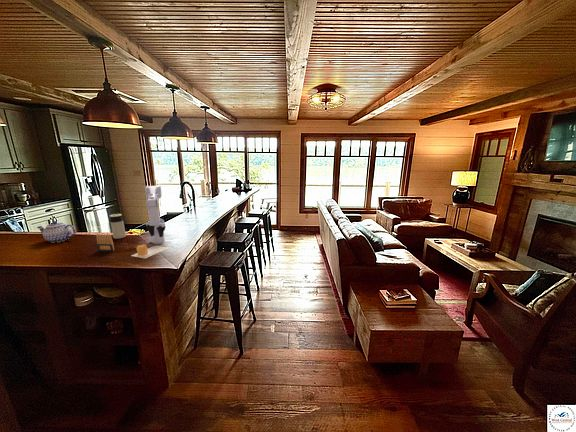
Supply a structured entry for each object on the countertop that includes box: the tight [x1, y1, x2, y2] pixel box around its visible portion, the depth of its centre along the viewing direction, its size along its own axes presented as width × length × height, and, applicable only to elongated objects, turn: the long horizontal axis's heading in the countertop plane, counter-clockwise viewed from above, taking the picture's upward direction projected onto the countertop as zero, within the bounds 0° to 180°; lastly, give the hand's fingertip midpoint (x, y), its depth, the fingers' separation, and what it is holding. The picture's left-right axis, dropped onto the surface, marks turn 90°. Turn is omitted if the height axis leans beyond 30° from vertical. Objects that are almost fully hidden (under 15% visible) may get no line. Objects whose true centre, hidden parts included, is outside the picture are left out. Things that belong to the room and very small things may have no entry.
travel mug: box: [109, 213, 127, 240], centre depth 176 cm, size 8×8×18 cm
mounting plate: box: [131, 245, 168, 259], centre depth 148 cm, size 12×18×5 cm, turn 162°
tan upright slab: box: [96, 233, 116, 253], centre depth 151 cm, size 11×2×12 cm, turn 87°
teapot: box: [36, 220, 77, 244], centre depth 168 cm, size 25×15×15 cm, turn 93°
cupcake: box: [136, 244, 148, 255], centre depth 144 cm, size 6×6×5 cm
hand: (156, 236), depth 153 cm, fingers open, 7 cm apart
